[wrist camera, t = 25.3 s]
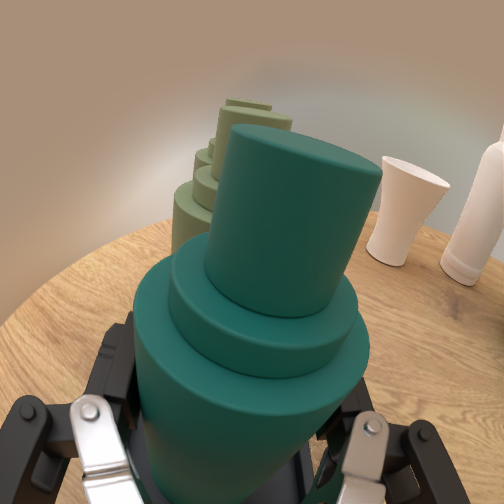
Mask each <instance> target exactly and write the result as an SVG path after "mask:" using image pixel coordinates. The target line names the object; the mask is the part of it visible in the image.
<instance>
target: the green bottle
mask: <svg viewBox="0 0 504 504" xmlns="http://www.w3.org/2000/svg"><path fill="white" fill-rule="evenodd" d="M235 124H254V125H261V126H267V127H272V128H277V129H282V130H286V131H290V130H291V125H292V119H291V118H290V117H288V116H285V115H281V114H278V113H274V112H270V111H265V110H260V109H254V108H247V107H238V106H222V107H221V108H220V112H219V118H218V125H217V132H216V139H215V146H214V153H213V160H212V165H207V166H204V167H201V168H199V169H198V170H197V171H196V172H195V174H194V180H192V181H189V182H187V183H184V184H182V185H181V186H180V187H179V188H178V189H177V190H176V192H175V194H174V207H173V224H172V248H171V255H172V254H175V253H176V252H177V250H178V249H179V248H180V247H181V246H182V245H183V244H184V243H185V242H186V241H188V240H189V239H191V238H193V237H195V236H197V235H200V234H202V233H206V232H209V230H210V224H211V219H212V214H213V208H214V203H215V198H216V193H217V188H218V183H219V178H220V173H221V169H222V164H223V159H224V155H225V150H226V145H227V141H228V136H229V132H230V128H231V127H232V125H235Z"/></svg>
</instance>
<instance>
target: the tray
mask: <svg viewBox="0 0 504 504" xmlns="http://www.w3.org/2000/svg"><path fill="white" fill-rule="evenodd" d="M127 444H128V447H129V449H130V452H131V455H132V458H133V460H134V463H135V465H136V468H137V470H138V473H139V475H140V478H141V480H142V482H143V484H144V487H145V489H146V490H147V492H148V494H149V496H150V498H151V500H152V502H153V504H173V503H171V502H170V501H169V500H168V499H167V498H165V497H164V495H163V494H162V493H161V492H160V491H159V489H158V488H157V486H156V484H155V482H154V480H153V477H152V473H151V468H150V463H149V457H148V452H147V447H146V441H145V435H144V428H143V422H142V414H141V409H140V415H139V420H138V426H137V430H133V429H129V430H128V436H127ZM313 481H314V473H313V467H312V461H311V454H310V448H309V442H308V441H307V443H306V444H305V445H304V446H303V447H302V448H301V449H300V450H299V451H298V452H297V453H296V454H295V455H294V456H293V457H292V458H291V459H290V460H289V461H288V462H287V463H286V464H285V465H283V466H282V467H281V468H280V469H279V470H278V471H277V472H276V473H275V474H274V475H273V476H272V477H271V478H269V479H268V480H267V481H266V482H265V483H264V484H263V485H262V486H260V487H259V488H258V489H257V490H256V491H255V492H253V493H252V494H251V495H250V496H249V497H247V498H246V499H245V500H244V501H243V502H241V503H240V504H301V502H302V501H303V499H304V498H305V496H306V495H307V494H308V492H309V491H310V489H311V486H312V484H313Z"/></svg>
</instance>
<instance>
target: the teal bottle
mask: <svg viewBox="0 0 504 504" xmlns="http://www.w3.org/2000/svg"><path fill="white" fill-rule="evenodd" d="M382 176H383V171H382V169H380V168H379V167H378V166H377V165H376V164H374V163H373V162H371V161H369V160H367V159H365V158H363V157H361V156H359V155H357V154H355V153H353V152H350V151H348V150H346V149H343V148H341V147H338V146H335V145H333V144H330V143H327V142H324V141H321V140H318V139H315V138H312V137H308V136H305V135H302V134H298V133H294V132H290V131H286V130H282V129H277V128H272V127H267V126H261V125H254V124H235V125H232V127H231V128H230V132H229V136H228V141H227V145H226V150H225V155H224V159H223V164H222V169H221V173H220V178H219V183H218V188H217V193H216V198H215V203H214V208H213V214H212V219H211V224H210V230H209V232H206V233H202V234H200V235H197V236H195V237H193V238H191V239H189V240H188V241H186V242H185V243H184V244H183V245H182V246H181V247H180V248H179V249H178V250H177V252H176V253H175V254H172V255H170V256H168V257H166V258H165V259H163V260H161V261H160V262H158V263H157V264H156V265H154V266H153V267H152V268H151V269H150V270H149V271H148V272H147V273H146V275H145V276H144V278H143V279H142V281H141V282H140V284H139V286H138V289H137V291H136V294H135V298H134V303H133V324H134V343H135V358H136V370H137V381H138V390H139V399H140V407H141V414H142V422H143V428H144V435H145V441H146V447H147V452H148V457H149V463H150V468H151V473H152V477H153V480H154V482H155V484H156V486H157V488H158V489H159V491H160V492H161V493H162V494H163V495H164V497H165V498H167V499H168V500H169V501H170V502H171V503H173V504H240V503H241V502H243V501H244V500H245V499H246V498H247V497H249V496H250V495H251V494H252V493H253V492H255V491H256V490H257V489H258V488H259V487H260V486H262V485H263V484H264V483H265V482H266V481H267V480H268V479H269V478H271V477H272V476H273V475H274V474H275V473H276V472H277V471H278V470H279V469H280V468H281V467H282V466H283V465H285V464H286V463H287V462H288V461H289V460H290V459H291V458H292V457H293V456H294V455H295V454H296V453H297V452H298V451H299V450H300V449H301V448H302V447H303V446H304V445H305V444H306V443H307V441H308V440H309V439H310V438H311V437H312V436H313V435H314V434H315V433H316V432H317V431H318V430H319V429H320V427H321V426H322V425H323V424H324V423H325V422H326V421H327V420H328V418H329V417H330V416H331V415H332V414H333V413H334V412H335V410H336V409H337V408H338V407H339V406H340V404H341V403H342V402H343V401H344V400H345V398H346V397H347V396H348V395H349V393H350V392H351V391H352V390H353V388H354V387H355V386H356V385H357V383H358V382H359V381H360V379H361V378H362V376H363V374H364V372H365V370H366V367H367V363H368V359H369V350H370V343H369V335H368V331H367V328H366V325H365V323H364V320H363V318H362V316H361V314H360V313H359V311H358V299H357V296H356V293H355V290H354V288H353V286H352V284H351V283H350V281H349V280H348V278H347V277H346V276H345V275H344V274H343V273H344V271H345V269H346V266H347V264H348V262H349V260H350V257H351V255H352V253H353V250H354V248H355V245H356V243H357V241H358V238H359V236H360V233H361V231H362V228H363V226H364V223H365V221H366V218H367V216H368V213H369V211H370V208H371V206H372V203H373V200H374V198H375V195H376V192H377V189H378V187H379V184H380V181H381V178H382Z"/></svg>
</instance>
